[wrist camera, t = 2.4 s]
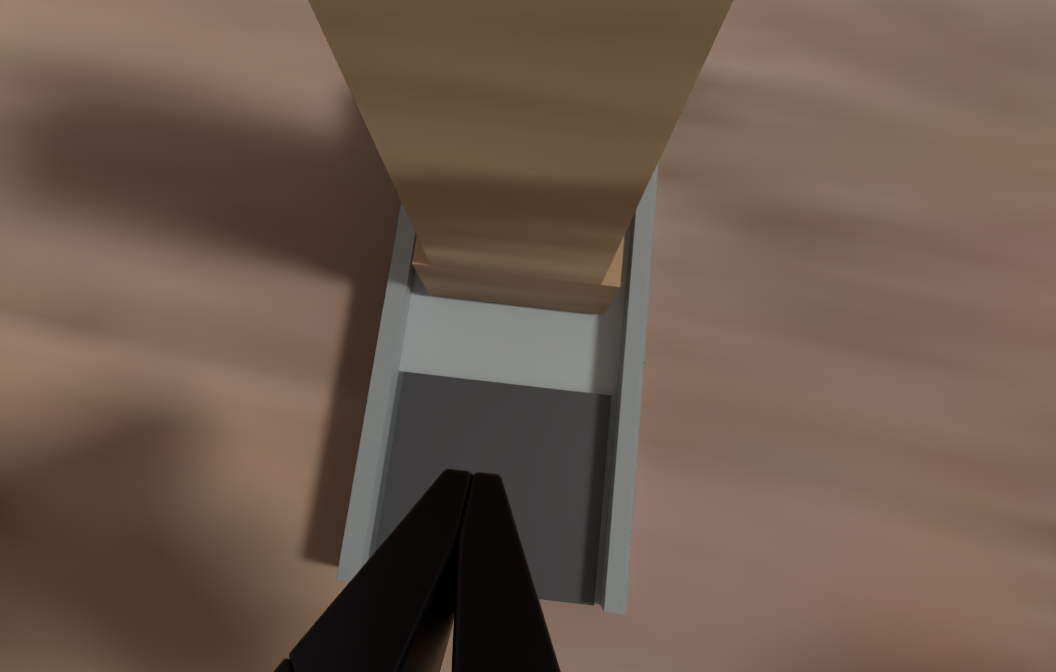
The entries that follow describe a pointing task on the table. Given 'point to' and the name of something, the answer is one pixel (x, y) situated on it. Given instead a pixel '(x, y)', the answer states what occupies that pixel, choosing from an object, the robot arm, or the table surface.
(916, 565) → the table surface
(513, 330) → the track
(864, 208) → the table surface
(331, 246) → the table surface
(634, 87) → the stepped wooden block
